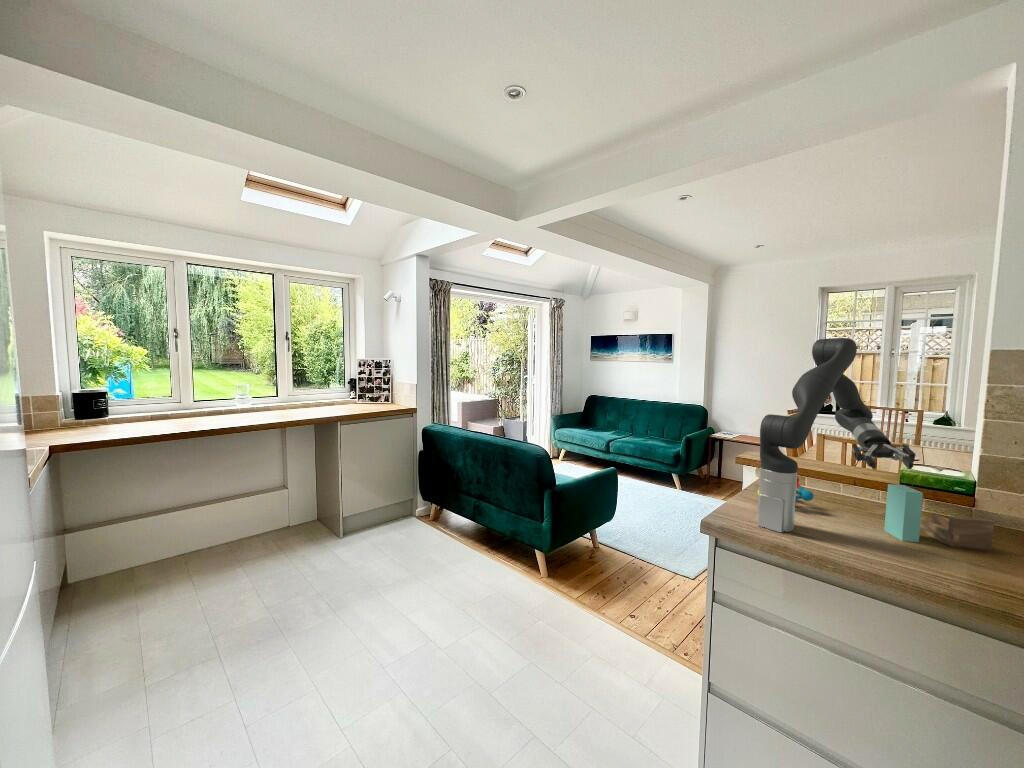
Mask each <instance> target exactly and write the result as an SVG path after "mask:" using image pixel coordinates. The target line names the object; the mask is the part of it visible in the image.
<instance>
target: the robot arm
mask: <svg viewBox="0 0 1024 768" xmlns="http://www.w3.org/2000/svg"><path fill="white" fill-rule="evenodd" d="M857 352H858V346H857V343H856V341H854V340H853V339H851V338H848V337H832V338H821V339H817V340H816V341H815V342H814V343H813V344H812V350H811V355H812V356H811V357H812V360H813V362H814V364H815V365H816V367H815V366H814V368H811V369H809V370H807V371H805V372H804V373H803V374H802V375H801V376H800V377H799V378H798V380H797V382H796V383H795V384H794V387H793V388H792V390H791V395H792V400H793V401H794V404H795V406H796V407H797V410H798V413H797V414H796V415H793V416H789V415H780V414H766V415H765V416H764V417H763V418H762V419H761V422H760V427H759V459H760V460H759V461H760V469H759V471H760V472H759V482H758V483H759V485H758V487H759V488H758V490H759V496H758V501H757V503H758V504H757V515H756V516H757V518H756V523H757V526H758V527H761V528H764V527H765V528H764V529H767V530H772V531H774V532H778V533H784V531H785V533H787V532H788V533H789V532H792V531H794V530H795V529H794V528H795V512H796V511H795V509H796V500H797V499H796V496H797V494H796V490H797V487H796V485H797V477H798V467H799V464H798V462H797V461H796V460H795V459H793V458H791V457H789V456H787V455H786V454H784V453H783V452H782V451H781V450H780V448H785V449H790V450H791V449H792V450H793V449H800V448H801V447H803V445H804V444H805V443H806V440H807V438H808V436H809V434H810V432H811V429H812V428H813V427H812V426H813V424H814V423H815V420H816V418H817V416H818V414H820V413H819V412H820V411H821V409H822V408H823V406H824V405H825V403H826V402H827V400H828V399H829V396H830V395H831V393H832V395H833V397H834V400H835V403H836V405H837V407H839V408H840V409H838V410H836V412H835V414H834V418H835V422H836V423H837V424H838V425H839V426H841V428H843V429H845V430H846V431H849V432H850V433H851V434H852V435H853V438H854V439H855V441H856V443H857V444H858V445H859V446H858V445H856V444H852V447H851V453H852V455H853V456H854V459H855V460H856V461H858V462H861V461H863V462H865V463H866V464H867V466H868V467H870V468H871V469H876V465H877V464H876V461H875V460H874V459H875V458H876V459H877V458H878V459H880V458H881V459H883V458H884V459H890V460H893V461H899V462H902V464H903V465H904V466H905V467H906V468H907V469H908V470H912V469H913V468H914V462H915V461H916V453H915V452H914V451H913V450H912V449H911V448H910V447H909V446H908V445H906V444H901V446H896V445H893V444H892V442H891V440H890V439H889V438H888V437H887V435H885V433H884V432H883V431H882V430H881V429H880V428H879V427H878V426H877V425H876V424H875V423H874V421H872V420H873V416H874V415H873V413H872V411H871V409H870V408H869V407H868V406H867V405H866V404H865V402H863V400H862V398H861V395H860V393H859V389H858V387H857V385H856V384H855V382H854V381H853V380H852V379H851V378H849V377H848V376H847V375H845V374H844V373H845V372H846V371H847V370H848V368H849V367H850V366H851V365H852V363H853V361H854V360H855V358H856V356H857ZM862 452H863V453H864V454H862ZM795 499H796V500H795Z"/></svg>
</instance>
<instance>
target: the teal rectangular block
mask: <svg viewBox="0 0 1024 768" xmlns="http://www.w3.org/2000/svg"><path fill="white" fill-rule="evenodd" d="M886 492H887V494H886V505H885V518H884V528H883V529H884V530H883V531H884V532H886V533H887V534H890V535H891V536H893V537H895V538H896V539H898V540H900V541H901V542H912V543H920V533H921V531H920V522H921V517H922V507H923V500H924V499H923V497H924V496H923V495H924V492H922V491H919V490H916V489H914V488H912V487H909V486H907V485H905V484H891V483H888V484H887V491H886Z"/></svg>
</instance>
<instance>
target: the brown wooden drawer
mask: <svg viewBox="0 0 1024 768" xmlns="http://www.w3.org/2000/svg"><path fill="white" fill-rule="evenodd" d="M929 515H930V516H929V517H930V518H929V519H926V518H924V517H922V516H921V522H920V533H921V532H922V533H923V534H925V535H927V536H929V537H931V538H933V539H935V540H937V541H939V542H941V543H943V544H944V543H945V545H946V544H947V545H946V546H948V545H949V547H950V546H951V548H955V547H958V548H957V549H966V548H968V549H969V550H970V549H971V550H978V551H979V550H980V551H989V550H991V551H992V549H993V548H992V547H993V539H994V529H995V520H992V519H990V518H989V519H988V518H977V517H965V516H952V515H951V516H950V515H949V518H947V517H946V516H943V515H940V514H938V513H936V512H930V514H929Z"/></svg>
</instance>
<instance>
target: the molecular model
mask: <svg viewBox="0 0 1024 768" xmlns="http://www.w3.org/2000/svg"><path fill="white" fill-rule="evenodd" d="M799 481H800V478H799V477H798V476H797V485H796V499H795V501H797V500H800V499H802V500H803V501H805V502H806V501H807V502H810V501H812V500H813V499H814V493H813V492H812V491H811V490H808V489H804V487H803V486H802V485H801V484H799ZM797 489H798V490H797ZM756 491H757V493H756V494H757V496H758V497H759V489H758V490H756Z"/></svg>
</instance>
